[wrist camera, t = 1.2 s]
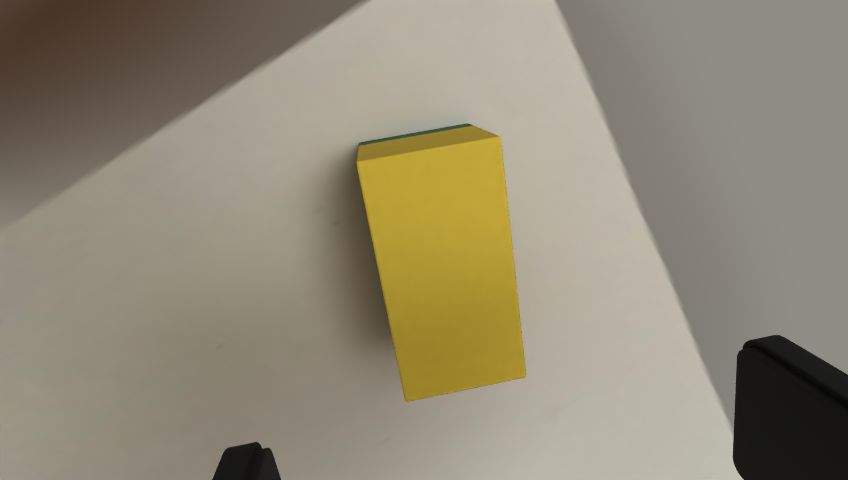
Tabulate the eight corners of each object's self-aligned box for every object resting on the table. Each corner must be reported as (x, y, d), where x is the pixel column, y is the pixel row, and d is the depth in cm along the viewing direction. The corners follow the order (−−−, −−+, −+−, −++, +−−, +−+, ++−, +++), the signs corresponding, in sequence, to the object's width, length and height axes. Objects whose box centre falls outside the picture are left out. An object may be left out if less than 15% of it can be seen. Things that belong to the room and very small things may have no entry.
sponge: (469, 123, 20) (501, 135, 15) (493, 316, 23) (526, 377, 18) (358, 142, 20) (355, 161, 15) (397, 335, 22) (405, 402, 18)
